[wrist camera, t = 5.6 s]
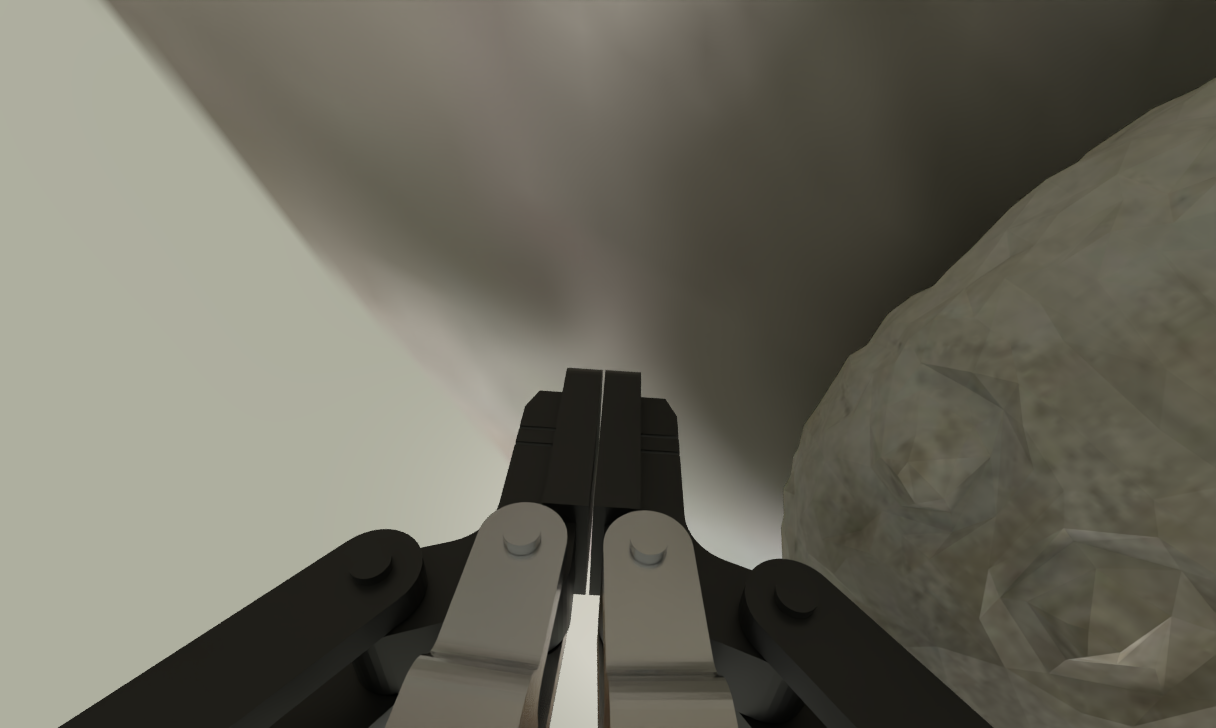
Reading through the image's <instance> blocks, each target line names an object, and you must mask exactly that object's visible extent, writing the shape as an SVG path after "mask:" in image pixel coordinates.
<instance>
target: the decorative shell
mask: <svg viewBox="0 0 1216 728" xmlns="http://www.w3.org/2000/svg"><path fill="white" fill-rule="evenodd" d="M783 503H784V517H783V521H782V526H781V536H782V559H789V560H794V561H798V562H801V563H803V564H806V565H808V566H810V567H812V568H813V569H815V570H817V571H818V572H819V573H821V574H822V575H823V576H824V577H826V578H827V579H828V580H829V581H830V582H831V583H832V584H833V585H835V586H836V587H837V588H838V589H839V590H840V591H841V592H842V593H844V594H845V595H846V596H847V597H848V598H849V599H850V600H851V601H852V602H854V603H855V604H856V605H857V606H858V607H859V608H860V609H861V610H863V611H864V612H865V613H866V614H867V615H868V616H869V617H870V618H872V619H873V620H874V621H875V622H876V623H877V624H878V625H879V626H880V627H882V628H883V629H884V630H885V631H886V632H887V633H888V634H889V635H891V636H892V637H893V638H894V639H895V640H896V641H897V642H898V643H899V644H901V645H902V646H903V647H904V648H905V649H906V650H907V651H908V652H910V653H911V654H912V655H913V656H914V657H915V658H916V659H917V660H919V661H920V662H921V663H922V664H923V665H924V666H925V667H926V668H927V669H929V670H930V671H931V672H932V673H933V674H934V675H935V676H936V677H938V678H939V679H940V680H941V681H942V682H943V683H944V684H945V685H946V686H948V687H949V688H950V689H951V690H952V691H953V692H954V693H955V694H957V695H958V696H959V697H960V698H961V699H962V700H963V701H964V702H966V703H967V704H968V705H969V706H970V707H971V708H972V709H973V710H974V711H976V712H977V713H978V714H979V715H980V716H981V717H982V718H983V719H985V720H986V721H987V722H988V723H989V724H990V725H991V726H992V727H994V728H1216V77H1215V78H1214V79H1212V80H1210V81H1209V82H1207V83H1205V84H1204V85H1202V86H1201V87H1199V88H1197V89H1195V90H1193V91H1191V92H1189V93H1186V94H1184V95H1182V96H1180V97H1178V98H1175V99H1173V100H1171V101H1169V102H1166V103H1164V104H1162V105H1160V106H1157V107H1155V108H1153V109H1151V110H1150V111H1148V112H1147V113H1145V114H1144V115H1142V116H1141V117H1140V118H1138V119H1137V120H1135V121H1134V122H1132V123H1131V124H1129V125H1128V126H1126V127H1125V128H1123V129H1122V130H1120V131H1119V132H1117V133H1116V134H1114V135H1113V136H1111V137H1110V138H1108V139H1107V140H1105V141H1104V142H1102V143H1101V144H1099V145H1098V146H1096V147H1095V148H1093V149H1092V150H1090V151H1089V152H1087V153H1086V154H1085V155H1084V156H1083V157H1082V159H1081V160H1080V161H1079V162H1077V163H1075V164H1074V165H1072V166H1070V167H1068V168H1066V169H1064V170H1062V171H1061V172H1059V173H1057V174H1055V175H1053V176H1051V177H1050V178H1048V179H1046V180H1045V181H1044V182H1042V183H1041V184H1040V185H1039V186H1037V187H1036V188H1035V189H1034V190H1032V191H1031V192H1030V193H1029V194H1027V195H1026V196H1025V197H1024V198H1022V199H1021V200H1020V201H1019V202H1017V203H1016V204H1015V205H1014V206H1012V207H1011V208H1010V209H1009V210H1008V211H1007V212H1006V213H1005V214H1004V215H1003V216H1002V217H1001V218H1000V219H999V220H998V221H997V222H996V223H995V224H994V225H993V226H992V227H991V228H990V230H989V231H988V232H987V233H986V234H985V235H984V236H983V237H982V238H981V239H980V240H979V241H978V242H977V243H976V244H975V245H974V246H973V247H972V248H971V249H970V250H969V251H968V252H967V253H966V254H965V255H964V256H963V257H961V258H960V259H959V260H958V261H957V262H956V263H955V264H954V265H953V266H952V267H951V268H949V270H948V271H947V272H946V273H945V274H944V275H943V276H942V277H941V278H940V279H939V281H938V282H937V283H936V284H935V285H934V286H932V287H930V288H928V289H926V290H923V291H921V292H919V293H917V294H915V295H913V296H911V297H910V298H909V299H907V300H906V301H905V302H903V303H902V304H901V305H899V306H898V307H897V308H895V309H894V310H893V311H891V312H890V313H888V314H887V316H886V317H885V319H884V320H883V322H882V323H881V325H880V326H879V328H878V329H877V331H876V332H875V334H874V335H873V337H872V338H871V340H870V341H869V343H868V344H867V345H866V346H865V347H863V348H861V349H860V350H858V351H856V352H855V353H853V354H851V355H850V356H849V357H848V358H847V360H846V362H845V363H844V365H843V367H842V368H841V370H840V372H839V373H838V375H837V376H836V378H835V379H834V381H833V383H832V384H831V386H830V387H829V389H828V390H827V392H826V394H825V395H824V397H823V398H822V400H821V401H820V403H819V405H818V406H817V408H816V409H815V411H814V412H813V413H812V415H811V416H810V418H809V419H808V420H807V422H806V423H805V425H804V427H803V431H802V435H801V439H800V443H799V447H798V450H797V451H796V453H795V455H794V456H793V462H792V469H791V476H790V478H789V479H788V481H787V483H786V485H785V486H784V488H783Z"/></svg>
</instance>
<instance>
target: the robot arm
mask: <svg viewBox="0 0 1216 728" xmlns="http://www.w3.org/2000/svg"><path fill="white" fill-rule="evenodd" d="M602 377H603V370H594V369H579V368H567V371H566V377H565V382H564V387H563V392H553V391H539V392H538V393H537V394H536V395H535V396H534V397H533V398H532V400H531V401H530V402H529V403H528V404H527V405H526V406H525V409H524V412H523V416H522V420H521V424H520V429H519V431H518V435H517V439H516V445H515V446H514V450H513V454H512V458H511V461H510V465H509V469H508V473H507V476H506V480H505V484H504V488H503V492H502V496H501V499H500V503H499V506H498V508H497V510H496V511H495V512H494V513H492V514H491V515H490V516H489V517H488V518H487V519H486V520H485V521H484V522H483V524H482V525H481V527H480V529H479V530H478V531H476V532H474V533H473V534H471V535H469V536H467V537H464V538H462V539H458V540H455V541H451V542H446V543H442V544H437V545H432V546H427V547H423V548H420V547H419V545H418V543H417V542H416V541H415V539H413V538H412V537H411V536H409V535H408V534H406V533H404V532H400V531H397V530H391V529H380V530H374V531H370V532H366V533H363V534H361V535H358V536H356V537H354V538H352V539H351V540H349V541H347V542H345V543H344V544H342V545H341V546H339V547H338V548H336V549H335V550H333V551H331V552H330V553H328V554H327V555H325V556H324V557H322V558H320V559H319V560H317V561H316V562H315V563H313V564H311V565H310V566H308V567H307V568H305V569H304V570H302V571H300V572H299V573H297V574H296V575H294V576H293V577H291V578H290V579H288V580H286V581H285V582H283V583H282V584H280V585H279V586H277V587H276V588H274V589H273V590H271V591H270V592H268V593H266V594H265V595H263V596H262V597H260V598H258V599H257V600H255V601H254V602H252V603H251V604H249V605H248V606H246V607H244V608H243V609H241V610H240V611H238V612H237V613H235V614H234V615H232V616H231V617H229V618H227V619H226V620H224V621H223V622H221V623H220V624H218V625H217V626H215V627H213V628H212V629H210V630H209V631H207V632H206V633H204V634H203V635H201V636H200V637H198V638H196V639H195V640H193V641H192V642H190V643H189V644H187V645H186V646H184V647H182V648H181V649H179V650H178V651H176V652H175V653H173V654H172V655H170V656H169V657H167V658H165V659H164V660H162V661H161V662H159V663H158V664H156V665H155V666H153V667H151V668H150V669H148V670H147V671H145V672H144V673H142V674H141V675H139V676H138V677H136V678H134V679H133V680H131V681H130V682H129V683H127V684H125V685H124V686H122V687H120V688H119V689H118V690H116V691H114V692H113V693H111V694H110V695H108V696H106V697H105V698H103V699H102V700H100V701H99V702H97V703H96V704H94V705H92V706H91V707H89V708H88V709H86V710H85V711H83V712H82V713H80V714H79V715H77V716H75V717H74V718H72V719H71V720H69V721H68V722H66V723H65V724H63V725H61V726H60V727H58V728H549V727H550V722H551V716H552V711H553V706H554V701H555V695H556V689H557V685H558V680H559V674H560V669H561V664H562V659H563V653H564V648H565V643H566V636H567V635H566V634H567V631H568V628H569V625H570V620H571V611H572V602H573V594H583V595H585V594H586V582H587V572H588V561H589V550H590V539H591V528H592V546H591V568H590V590H589V595H600V603H599V618H598V635H597V686H598V690H597V692H598V728H994V727H992V726H991V725H990V724H989V723H988V722H987V721H986V720H985V719H983V718H982V717H981V716H980V715H979V714H978V713H977V712H976V711H974V710H973V709H972V708H971V707H970V706H969V705H968V704H967V703H966V702H964V701H963V700H962V699H961V698H960V697H959V696H958V695H957V694H955V693H954V692H953V691H952V690H951V689H950V688H949V687H948V686H946V685H945V684H944V683H943V682H942V681H941V680H940V679H939V678H938V677H936V676H935V675H934V674H933V673H932V672H931V671H930V670H929V669H927V668H926V667H925V666H924V665H923V664H922V663H921V662H920V661H919V660H917V659H916V658H915V657H914V656H913V655H912V654H911V653H910V652H908V651H907V650H906V649H905V648H904V647H903V646H902V645H901V644H899V643H898V642H897V641H896V640H895V639H894V638H893V637H892V636H891V635H889V634H888V633H887V632H886V631H885V630H884V629H883V628H882V627H880V626H879V625H878V624H877V623H876V622H875V621H874V620H873V619H872V618H870V617H869V616H868V615H867V614H866V613H865V612H864V611H863V610H861V609H860V608H859V607H858V606H857V605H856V604H855V603H854V602H852V601H851V600H850V599H849V598H848V597H847V596H846V595H845V594H844V593H842V592H841V591H840V590H839V589H838V588H837V587H836V586H835V585H833V584H832V583H831V582H830V581H829V580H828V579H827V578H826V577H824V576H823V575H822V574H821V573H819V572H818V571H817V570H815V569H813V568H812V567H810V566H808V565H806V564H803V563H801V562H798V561H794V560H789V559H772V560H768V561H765V562H763V563H761V564H759V565H757V566H756V567H755V568H754V569H753V570H750V569H747V568H744V567H742V566H739V565H736V564H733V563H731V562H728V561H725V560H723V559H721V558H718V557H716V556H714V555H713V554H711V553H709V552H708V551H707V550H705V549H704V548H703V547H702V546H701V545H700V544H699V543H698V542H697V541H696V540H695V539H694V538H693V536H692V535H691V533H690V531H689V530H688V527H687V525H686V522H685V516H684V503H683V490H682V477H681V464H680V456H679V452H680V451H679V440H678V425H677V416H676V414H675V413H674V411H673V410H672V408H671V407H670V405H669V404H668V402H667V401H666V399H660V398H645V397H641V372H626V371H611V370H606V372H605V383H604V394H603V405H602V416H601V397H602ZM600 417H601V427H600ZM599 435H600V438H599ZM592 516H593V525H592Z"/></svg>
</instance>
